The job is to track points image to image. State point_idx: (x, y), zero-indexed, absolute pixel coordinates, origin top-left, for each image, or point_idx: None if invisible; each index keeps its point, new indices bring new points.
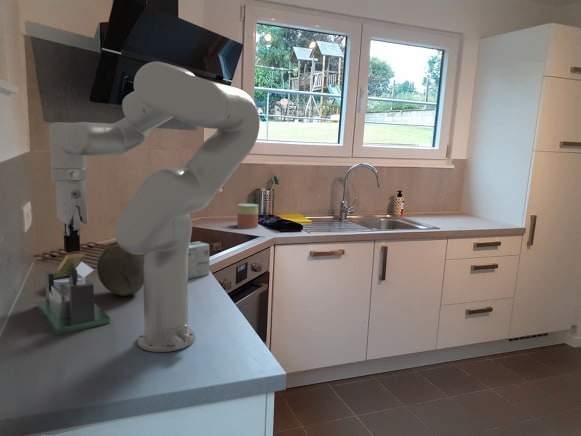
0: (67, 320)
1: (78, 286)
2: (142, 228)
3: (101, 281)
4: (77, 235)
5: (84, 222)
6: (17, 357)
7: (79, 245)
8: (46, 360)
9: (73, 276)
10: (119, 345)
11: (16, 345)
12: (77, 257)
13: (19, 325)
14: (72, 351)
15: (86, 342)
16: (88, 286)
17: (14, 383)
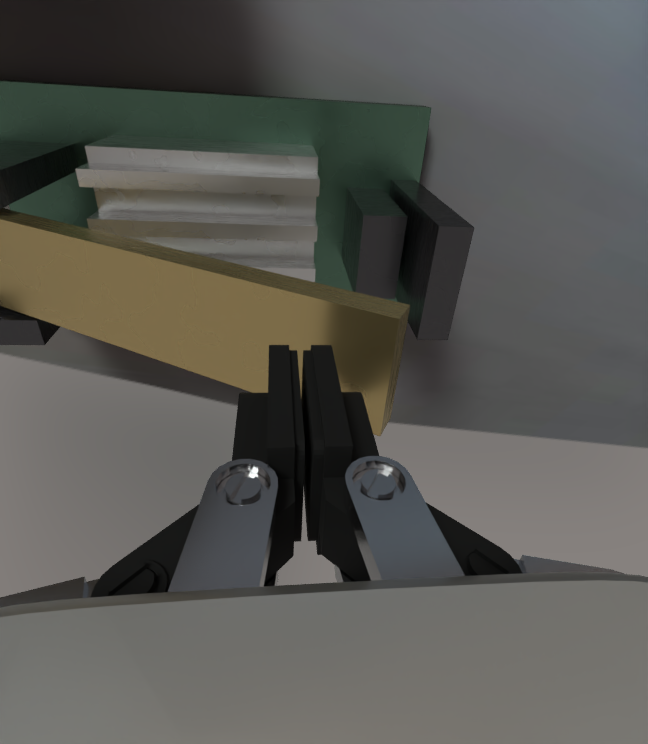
0: (345, 269)
1: (446, 303)
2: None
3: None
4: (352, 462)
5: (498, 574)
6: (460, 409)
7: (336, 372)
8: (533, 364)
9: (17, 192)
10: (633, 164)
11: None
12: (399, 359)
13: None
14: (540, 301)
15: (517, 249)
16: (464, 253)
17: (577, 428)
